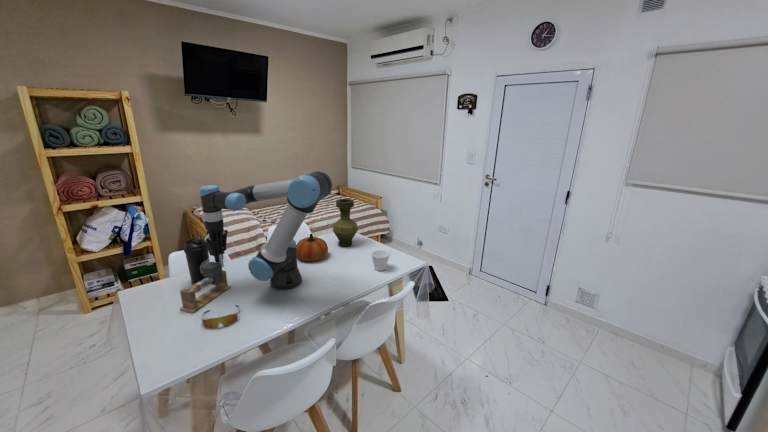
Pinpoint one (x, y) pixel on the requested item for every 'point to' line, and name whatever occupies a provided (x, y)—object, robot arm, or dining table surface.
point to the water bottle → (196, 258)
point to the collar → (212, 271)
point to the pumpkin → (311, 248)
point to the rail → (195, 304)
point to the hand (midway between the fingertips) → (220, 266)
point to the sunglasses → (220, 320)
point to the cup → (380, 259)
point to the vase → (345, 223)
